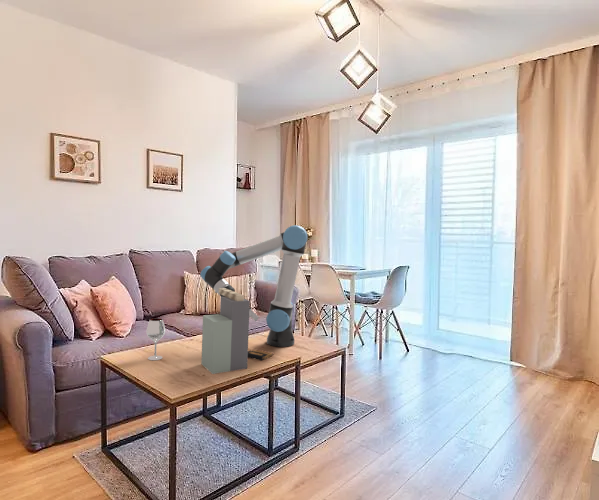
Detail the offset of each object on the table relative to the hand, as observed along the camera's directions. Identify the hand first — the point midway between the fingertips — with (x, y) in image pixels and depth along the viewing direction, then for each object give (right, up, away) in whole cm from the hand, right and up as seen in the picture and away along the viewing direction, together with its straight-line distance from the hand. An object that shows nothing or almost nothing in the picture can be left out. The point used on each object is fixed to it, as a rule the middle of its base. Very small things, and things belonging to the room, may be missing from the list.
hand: (253, 318), depth 198 cm
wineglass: (-44, -17, -12) cm, 49 cm away
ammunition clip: (0, -17, -7) cm, 18 cm away
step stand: (-11, -18, -19) cm, 29 cm away
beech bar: (-9, +12, -14) cm, 21 cm away
